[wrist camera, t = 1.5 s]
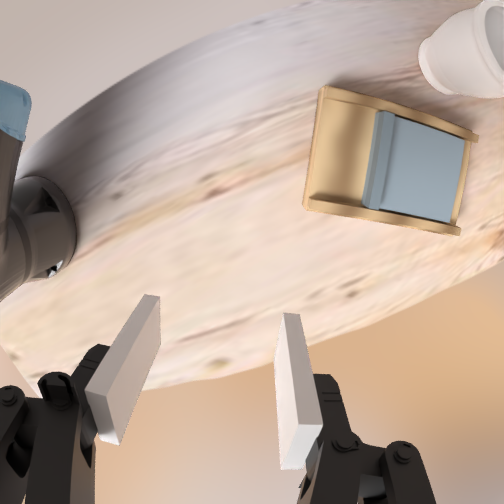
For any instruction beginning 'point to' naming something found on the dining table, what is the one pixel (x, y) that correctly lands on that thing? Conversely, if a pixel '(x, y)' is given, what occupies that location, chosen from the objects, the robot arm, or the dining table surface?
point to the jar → (467, 53)
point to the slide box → (365, 158)
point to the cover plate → (412, 168)
